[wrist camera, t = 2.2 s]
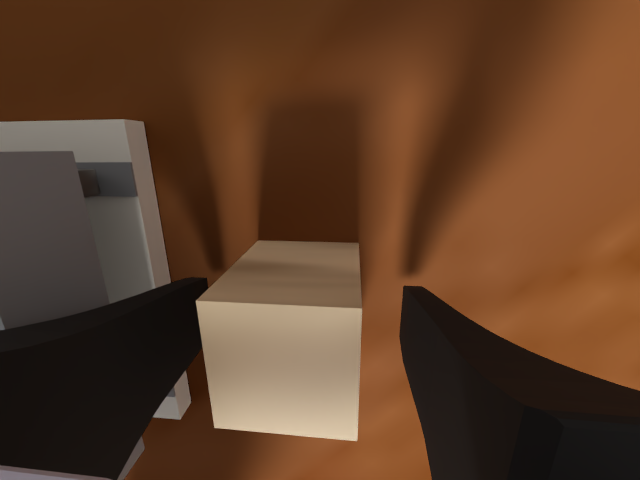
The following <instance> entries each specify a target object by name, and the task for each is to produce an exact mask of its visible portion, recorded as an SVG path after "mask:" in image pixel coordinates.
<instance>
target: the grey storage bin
mask: <svg viewBox="0 0 640 480" xmlns="http://www.w3.org/2000/svg"><path fill="white" fill-rule="evenodd" d="M99 194H100V189H99V185H98V180H97V176H96V171H95V169H77V166H76V162H75V157H74V153H73V151H12V152H0V330H5V329H11V328H16V327H21V326H25V325H30V324H35V323H39V322H44V321H49V320H54V319H58V318H62V317H66V316H70V315H74V314H77V313H81V312H85V311H88V310H92V309H95V308H99V307H102V306H105V305H108V304H110V302H109V298H108V294H107V290H106V286H105V282H104V277H103V273H102V269H101V265H100V261H99V257H98V253H97V249H96V244H95V240H94V236H93V232H92V228H91V224H90V220H89V215H88V211H87V207H86V203H85V199H84V197H90V196H95V195H99ZM144 449H145V447H144V443H143V439H142V436H141V438H140V439H139V441H138V443H137V444H136V446H135V448H134V450H133V452H132V454H131V455H130V457H129V459H128V461H127V463H126V464H125V466H124V468H123V470H122V472H121V474H120V475H119V477H118V479H117V480H124V478H125V477H126V475H127V474H128V472H129V471H130V470H131V468H132V467H133V465H134V464H135V462H136V461H137V459H138V458H139V457H140V455H141V454H142V452H143V451H144Z"/></svg>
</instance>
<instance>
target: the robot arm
mask: <svg viewBox="0 0 640 480" xmlns="http://www.w3.org/2000/svg"><path fill="white" fill-rule="evenodd" d="M207 289H208V284H207V278H195V277H191V278H185V279H182V280H178V281H175V282H172V283H169V284H166V285H163V286H160V287H157V288H155V289H152V290H149V291H146V292H143V293H141V294H138V295H135V296H132V297H129V298H126V299H123V300H120V301H117V302H114V303H111V304H108V305H105V306H102V307H99V308H95V309H92V310H88V311H85V312H81V313H77V314H74V315H70V316H66V317H62V318H58V319H54V320H49V321H44V322H39V323H35V324H30V325H25V326H21V327H16V328H11V329H5V330H0V480H117V479H118V477H119V475H120V474H121V472H122V470H123V468H124V466H125V464H126V463H127V461H128V459H129V457H130V455H131V454H132V452H133V450H134V448H135V446H136V444H137V443H138V441H139V439H140V438H141V436H142V434H143V433H144V431H145V429H146V428H147V426H148V424H149V422H150V421H151V419H152V417H153V416H154V414H155V413H156V411H157V410H158V408H159V407H160V405H161V404H162V402H163V401H164V399H165V398H166V397H167V395H168V394H169V392H170V391H171V390H172V388H173V387H174V386H175V384H176V383H177V381H178V380H179V379H180V377H181V376H182V375H183V373H184V372H185V371H186V369H187V368H188V366H189V365H190V364H191V362H192V361H193V359H194V358H195V357H196V355H197V354H198V352H199V351H200V349H201V348H202V340H201V333H200V326H199V319H198V312H197V305H196V300H197V299H198V298H199V297H200V296H201V295H202V294H203V293H204V292H205V291H206V290H207ZM399 337H400V344H401V351H402V357H403V363H404V367H405V370H406V374H407V377H408V381H409V384H410V388H411V391H412V395H413V398H414V402H415V405H416V408H417V412H418V415H419V419H420V422H421V426H422V430H423V434H424V438H425V444H426V449H427V454H428V460H429V465H430V471H431V476H432V480H640V391H638V390H635V389H631V388H628V387H624V386H621V385H618V384H615V383H612V382H609V381H606V380H603V379H600V378H597V377H595V376H592V375H589V374H586V373H583V372H580V371H577V370H575V369H572V368H569V367H567V366H564V365H562V364H559V363H556V362H554V361H552V360H549V359H547V358H545V357H542V356H540V355H537V354H535V353H533V352H530V351H528V350H526V349H524V348H522V347H520V346H517V345H515V344H513V343H511V342H510V341H508V340H506V339H504V338H502V337H500V336H498V335H496V334H494V333H492V332H490V331H489V330H487V329H485V328H483V327H482V326H480V325H478V324H477V323H475V322H474V321H472V320H470V319H469V318H467V317H466V316H464V315H463V314H461V313H460V312H458V311H457V310H455V309H454V308H452V307H451V306H449V305H448V304H447V303H445V302H444V301H442V300H441V299H440V298H438V297H437V296H435V295H434V294H433V293H431V292H430V291H428V290H427V289H425V288H424V287H422V286H404V287H403V299H402V312H401V324H400V336H399Z"/></svg>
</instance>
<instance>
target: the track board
mask: <svg viewBox="0 0 640 480" xmlns="http://www.w3.org/2000/svg"><path fill="white" fill-rule="evenodd" d="M12 151H73V153H74V157H75V162H76V166H77V169H95V171H96V176H97V180H98V185H99V189H100V194H99V195H95V196H90V197H84V199H85V203H86V207H87V211H88V215H89V220H90V224H91V228H92V232H93V236H94V240H95V244H96V249H97V253H98V257H99V261H100V265H101V269H102V273H103V277H104V282H105V286H106V290H107V294H108V298H109V302H110V304H111V303H114V302H117V301H120V300H123V299H126V298H129V297H132V296H135V295H138V294H141V293H143V292H146V291H149V290H152V289H155V288H157V287H160V286H163V285H166V284H169V283H171V280H170V274H169V268H168V262H167V256H166V250H165V245H164V239H163V233H162V227H161V221H160V215H159V209H158V203H157V198H156V192H155V186H154V180H153V174H152V168H151V162H150V156H149V151H148V145H147V139H146V133H145V127H144V122H143V121H134V120H126V119H110V120H62V121H14V122H0V152H12ZM190 404H191V397H190V391H189V386H188V380H187V374H186V371H185V372H184V373H183V375H182V376H181V377H180V379H179V380H178V381H177V383H176V384H175V386H174V387H173V388H172V390H171V391H170V392H169V394H168V395H167V397H166V398H165V399H164V401H163V402H162V404H161V405H160V407H159V408H158V410H157V411H156V413H155V414H154V416H153V417H157V418H167V419H178V420H180V419H181V418H182V416H183V415H184V413H185V411H186V410H187V408H188V407H189V405H190Z"/></svg>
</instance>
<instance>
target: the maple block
mask: <svg viewBox="0 0 640 480" xmlns="http://www.w3.org/2000/svg"><path fill="white" fill-rule="evenodd" d="M196 305H197V312H198V319H199V326H200V333H201V340H202V346H203V353H204V360H205V367H206V374H207V381H208V387H209V394H210V401H211V408H212V415H213V422H214V428H221V429H232V430H243V431H254V432H264V433H275V434H286V435H297V436H307V437H318V438H329V439H340V440H351V441H357V434H358V407H359V379H360V352H361V324H362V297H361V278H360V258H359V243H342V242H301V241H259V240H258V241H257V242H256V243H255V244H254V245H253V246H252V247H251V248H250V249H249V250H248V251H247V252H246V253H245V254H244V255H242V256H241V257H240V258H239V259H238V260H237V261H236V262H235V263H234V264H233V265H232V266H231V267H230V268H229V269H228V270H227V271H226V272H225V273H224V274H223V275H222V276H221V277H220V278H219V279H218V280H217V281H216V282H215V283H214V284H213V285H212V286H211V287H210V288H208V289H207V290H206V291H205V292H204V293H203V294H202V295H201V296H200V297H199V298H198V299H197V300H196Z"/></svg>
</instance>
